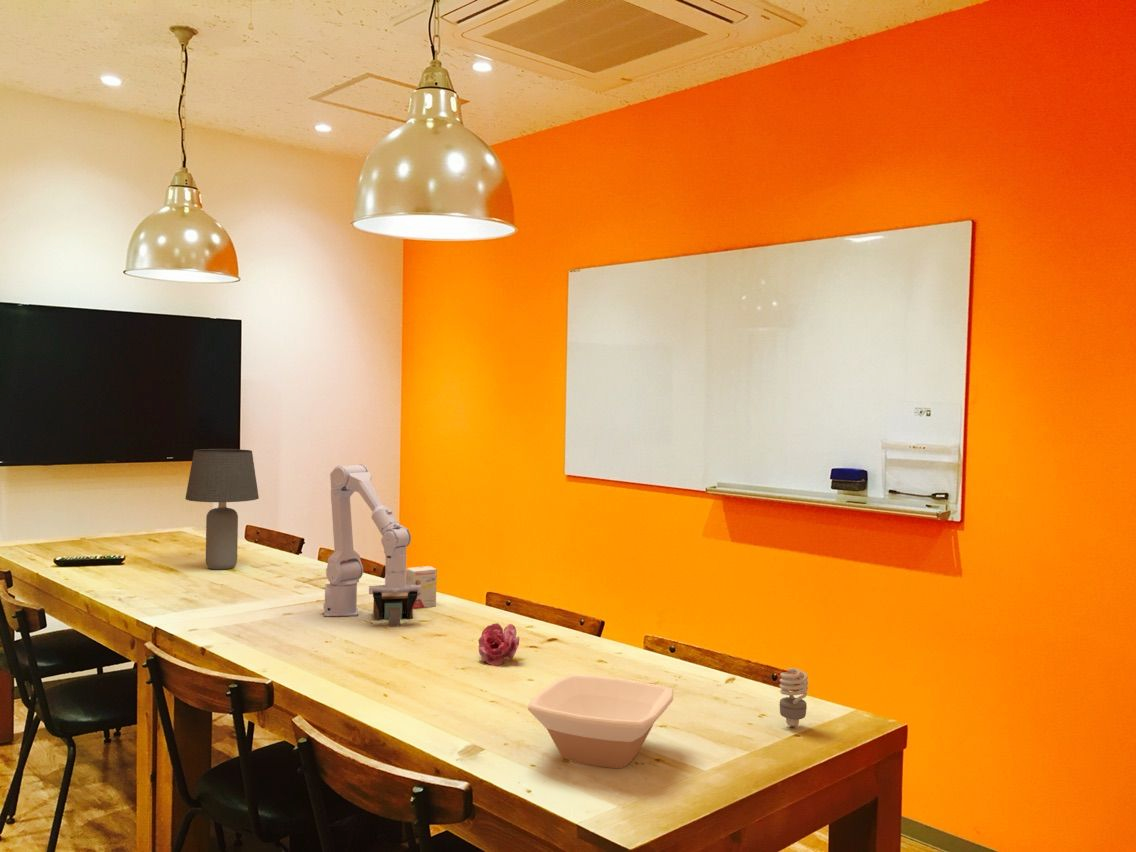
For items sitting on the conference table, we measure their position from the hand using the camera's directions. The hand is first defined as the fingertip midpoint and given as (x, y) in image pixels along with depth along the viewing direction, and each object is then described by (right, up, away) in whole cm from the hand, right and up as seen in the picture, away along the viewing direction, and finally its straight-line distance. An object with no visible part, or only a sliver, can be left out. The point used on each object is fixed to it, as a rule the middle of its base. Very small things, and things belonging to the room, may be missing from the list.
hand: (394, 618), depth 263 cm
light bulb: (+95, -7, -75) cm, 121 cm away
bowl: (+55, -6, -91) cm, 107 cm away
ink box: (+4, -1, +24) cm, 24 cm away
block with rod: (-1, -2, +5) cm, 6 cm away
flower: (+32, -4, -33) cm, 46 cm away
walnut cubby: (-2, -1, +10) cm, 10 cm away
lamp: (-78, +2, +77) cm, 109 cm away
